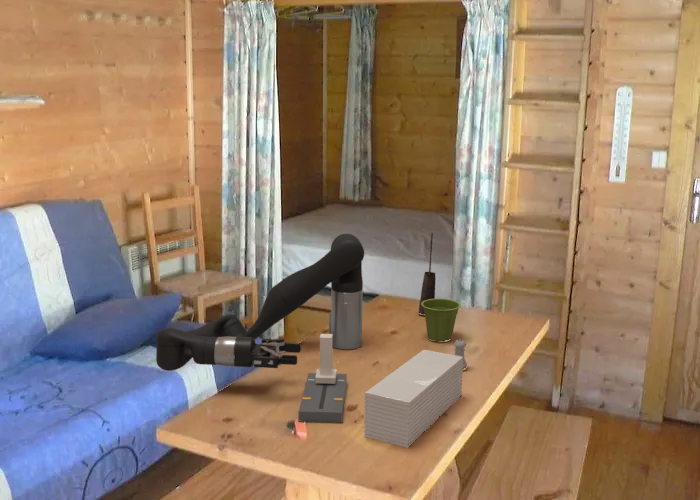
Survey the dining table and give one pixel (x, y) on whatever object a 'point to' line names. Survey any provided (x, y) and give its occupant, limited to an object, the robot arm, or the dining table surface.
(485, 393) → the dining table surface
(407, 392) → the stack of papers
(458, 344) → the rook chess piece
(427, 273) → the butter churn
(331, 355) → the fader tab
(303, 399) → the fader console
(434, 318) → the plant pot
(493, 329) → the dining table surface
